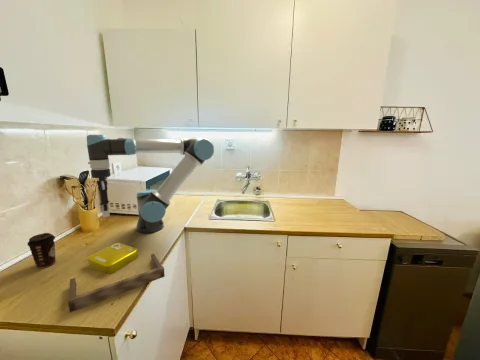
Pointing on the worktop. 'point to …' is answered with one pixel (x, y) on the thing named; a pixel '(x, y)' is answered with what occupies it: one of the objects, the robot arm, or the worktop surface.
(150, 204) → the robot arm
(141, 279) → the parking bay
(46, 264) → the coffee cup
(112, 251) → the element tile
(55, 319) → the worktop surface
